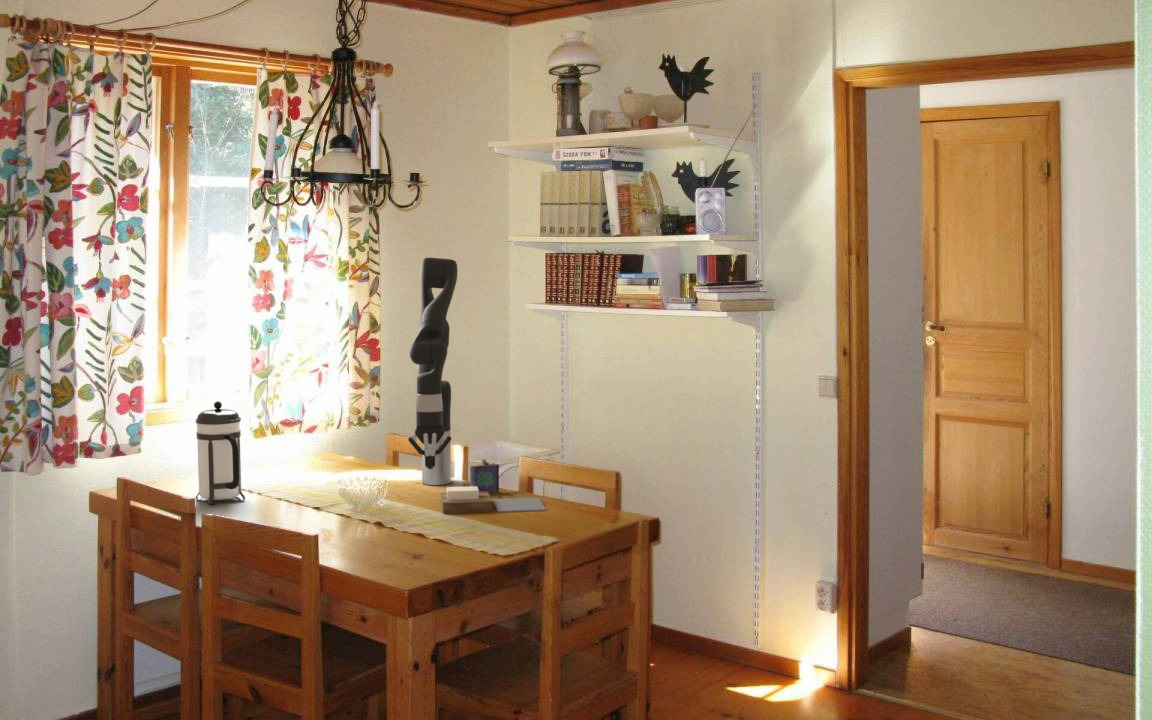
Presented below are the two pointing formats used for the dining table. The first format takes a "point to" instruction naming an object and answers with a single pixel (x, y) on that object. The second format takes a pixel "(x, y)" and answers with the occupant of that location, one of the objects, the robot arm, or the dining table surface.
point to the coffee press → (219, 454)
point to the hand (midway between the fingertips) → (430, 468)
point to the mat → (518, 505)
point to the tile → (462, 493)
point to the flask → (485, 477)
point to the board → (467, 504)
